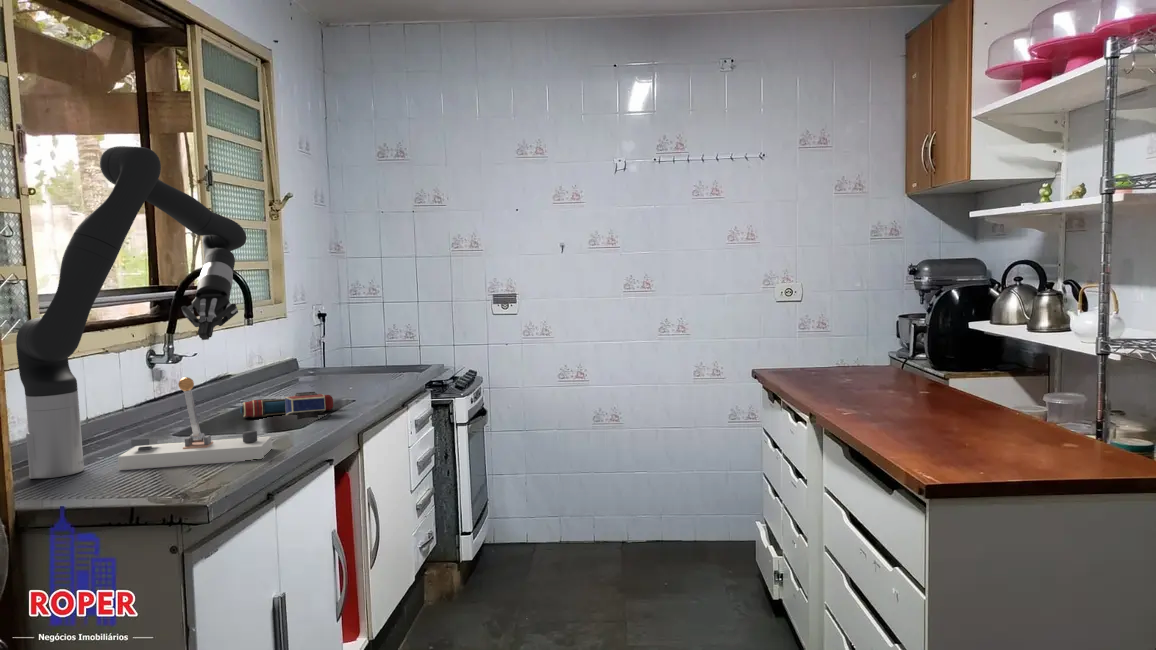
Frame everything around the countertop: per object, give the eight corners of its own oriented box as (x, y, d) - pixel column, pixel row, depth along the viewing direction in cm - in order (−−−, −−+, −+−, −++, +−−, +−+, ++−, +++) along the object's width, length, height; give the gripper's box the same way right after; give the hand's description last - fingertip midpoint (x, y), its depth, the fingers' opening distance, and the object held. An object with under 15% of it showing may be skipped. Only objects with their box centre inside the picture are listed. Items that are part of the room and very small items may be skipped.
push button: (255, 441, 175) (255, 433, 175) (241, 442, 174) (241, 433, 174) (258, 439, 178) (258, 430, 178) (244, 440, 177) (244, 431, 177)
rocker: (149, 445, 170) (149, 438, 170) (131, 446, 169) (131, 439, 169) (157, 444, 175) (157, 437, 175) (139, 445, 174) (139, 439, 174)
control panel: (262, 459, 172) (260, 437, 171) (119, 470, 166) (117, 447, 166) (272, 448, 182) (270, 427, 182) (138, 458, 177) (136, 436, 177)
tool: (239, 401, 228) (243, 393, 210) (328, 394, 239) (339, 386, 221) (240, 428, 226) (245, 422, 209) (330, 420, 238) (341, 414, 220)
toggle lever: (204, 445, 173) (190, 381, 166) (189, 446, 173) (175, 382, 165) (207, 437, 176) (194, 374, 169) (193, 438, 175) (179, 375, 168)
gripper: (182, 274, 189) (169, 328, 178) (239, 272, 191) (230, 325, 180) (190, 295, 194) (178, 349, 183) (246, 293, 197) (238, 346, 186)
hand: (204, 337), depth 182 cm, fingers closed
